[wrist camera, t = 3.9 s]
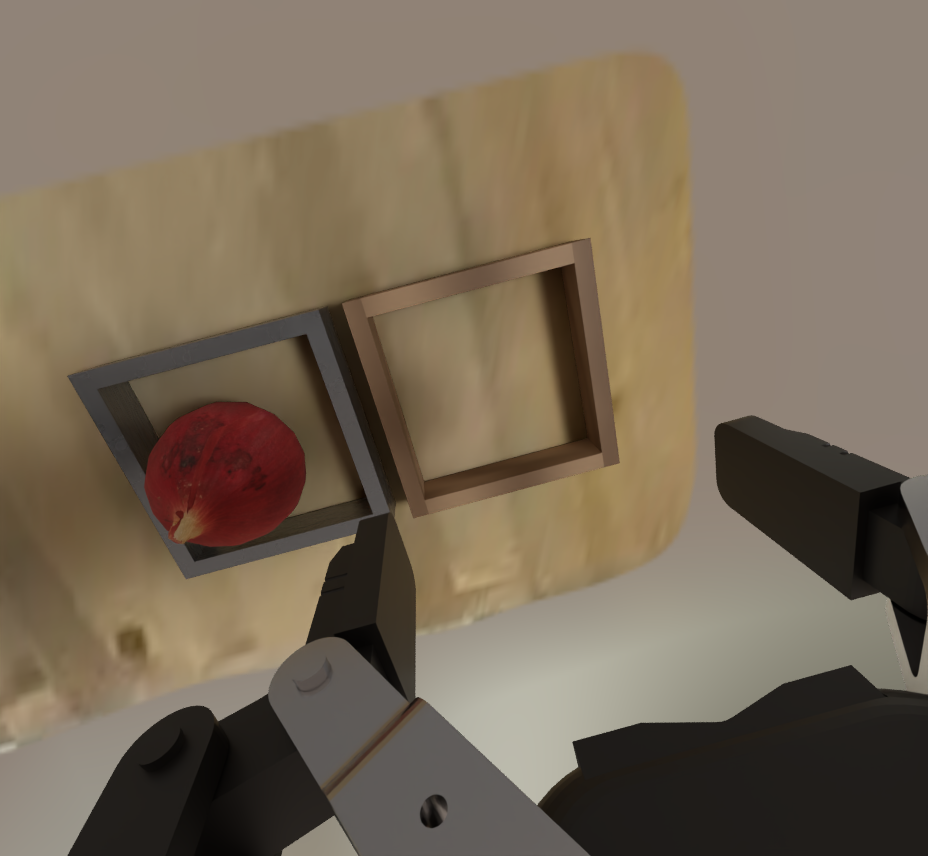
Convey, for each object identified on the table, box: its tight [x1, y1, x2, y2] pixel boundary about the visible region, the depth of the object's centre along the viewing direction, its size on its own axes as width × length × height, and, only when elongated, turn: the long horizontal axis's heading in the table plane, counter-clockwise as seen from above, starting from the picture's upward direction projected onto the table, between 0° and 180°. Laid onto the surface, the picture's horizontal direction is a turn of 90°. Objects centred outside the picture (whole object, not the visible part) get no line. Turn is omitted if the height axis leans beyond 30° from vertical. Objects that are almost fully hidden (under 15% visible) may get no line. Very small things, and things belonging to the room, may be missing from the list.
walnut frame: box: [342, 238, 620, 518], centre depth 21 cm, size 11×11×2 cm
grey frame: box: [68, 306, 396, 579], centre depth 21 cm, size 11×11×2 cm
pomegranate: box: [144, 402, 306, 547], centre depth 18 cm, size 6×6×8 cm
